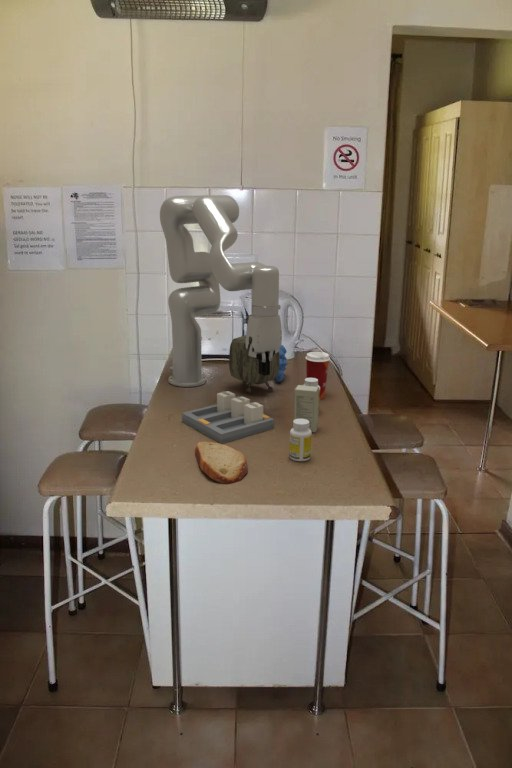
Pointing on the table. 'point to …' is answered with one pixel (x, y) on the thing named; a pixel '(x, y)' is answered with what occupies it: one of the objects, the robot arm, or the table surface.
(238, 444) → the table surface
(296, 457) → the supplement bottle
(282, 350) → the grapes
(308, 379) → the supplement bottle
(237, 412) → the tab
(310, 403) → the skincare box
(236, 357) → the tabletop clock
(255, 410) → the tab
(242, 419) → the switch bank
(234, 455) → the bread slice
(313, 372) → the paper cup
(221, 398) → the beige switch slider block
